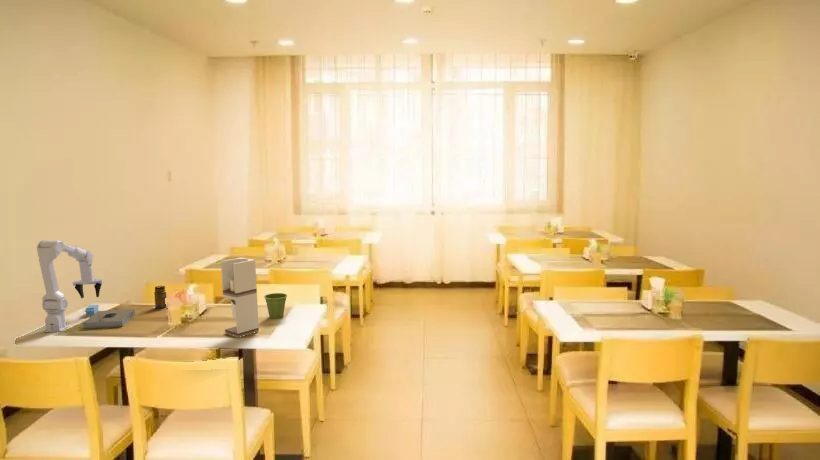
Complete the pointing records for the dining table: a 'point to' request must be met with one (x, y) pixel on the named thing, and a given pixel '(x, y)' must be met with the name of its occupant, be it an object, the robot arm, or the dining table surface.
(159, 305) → the condiment
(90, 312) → the servo
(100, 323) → the chassis
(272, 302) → the plant pot
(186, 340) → the dining table surface
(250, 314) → the espresso maker
